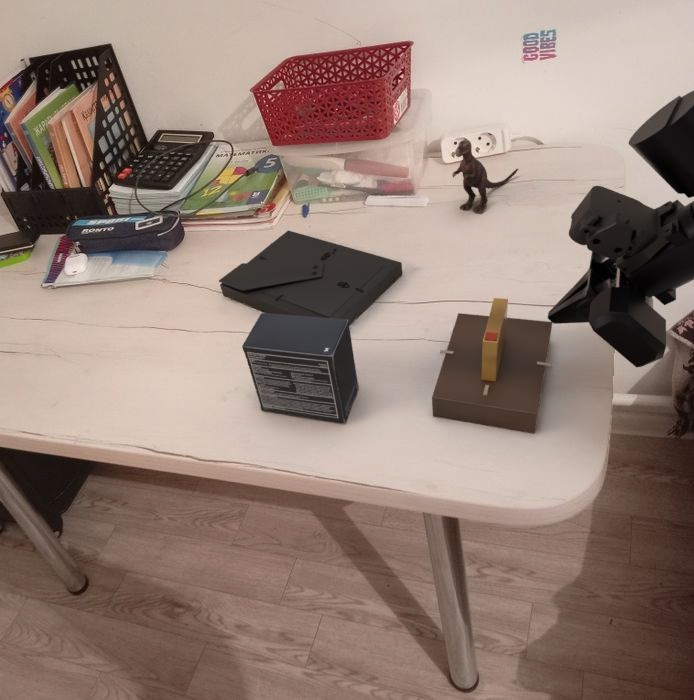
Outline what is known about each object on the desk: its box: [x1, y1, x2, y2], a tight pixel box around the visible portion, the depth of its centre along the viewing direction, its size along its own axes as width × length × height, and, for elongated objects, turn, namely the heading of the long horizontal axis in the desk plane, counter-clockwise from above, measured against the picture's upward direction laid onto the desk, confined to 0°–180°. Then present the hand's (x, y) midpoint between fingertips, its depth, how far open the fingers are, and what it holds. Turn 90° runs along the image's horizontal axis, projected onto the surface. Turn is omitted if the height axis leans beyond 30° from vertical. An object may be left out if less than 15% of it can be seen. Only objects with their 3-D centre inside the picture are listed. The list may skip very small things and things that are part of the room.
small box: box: [241, 312, 360, 424], centre depth 70 cm, size 11×6×10 cm, turn 65°
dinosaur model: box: [452, 139, 520, 214], centre depth 92 cm, size 4×12×15 cm
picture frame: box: [218, 230, 403, 326], centre depth 89 cm, size 16×3×21 cm
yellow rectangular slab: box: [481, 297, 509, 381], centre depth 65 cm, size 7×1×6 cm, turn 153°
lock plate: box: [431, 312, 553, 434], centre depth 68 cm, size 14×11×3 cm
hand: (550, 318), depth 63 cm, fingers closed
